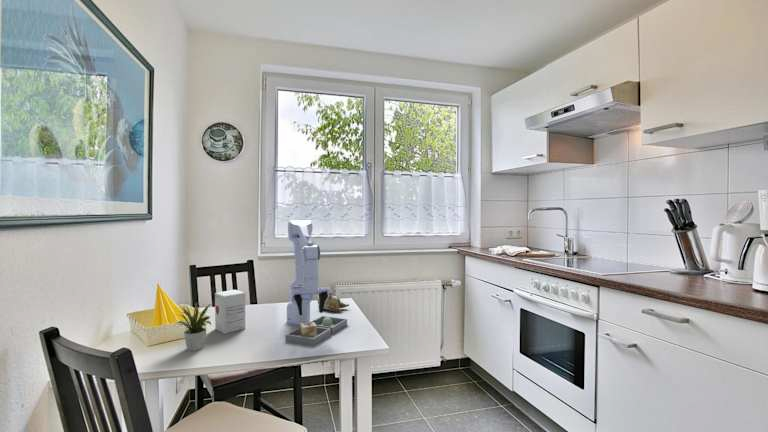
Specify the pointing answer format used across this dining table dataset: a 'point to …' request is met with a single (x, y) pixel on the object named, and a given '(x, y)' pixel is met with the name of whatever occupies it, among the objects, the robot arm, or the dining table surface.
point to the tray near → (297, 338)
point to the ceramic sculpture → (332, 303)
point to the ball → (327, 322)
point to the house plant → (195, 328)
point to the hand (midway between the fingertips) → (310, 313)
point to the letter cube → (309, 330)
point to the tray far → (336, 323)
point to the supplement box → (229, 311)
